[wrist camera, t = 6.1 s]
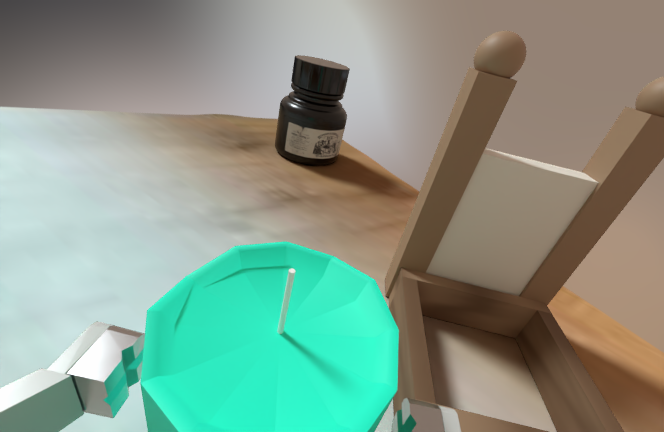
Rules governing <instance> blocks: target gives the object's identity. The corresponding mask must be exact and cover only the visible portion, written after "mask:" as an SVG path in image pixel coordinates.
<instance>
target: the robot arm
mask: <svg viewBox="0 0 664 432" xmlns="http://www.w3.org/2000/svg"><path fill="white" fill-rule="evenodd" d="M144 340H145V333H141V332H137V331H133V330H129V329H125V328H121V327H117V326H115V325H111V324H106V323H102V322H98V321H97V322H95V323H93V324H92V325H90V326H89V327H88V328H87V329H86V330H85V331H84V332H83V333H82V334H81V335H80V336H79V337H78V338H77V339H76V340H75V341H74V342H73V343H72V344H71V345H70V346H69V347H68V348H67V349H66V350H65V351H64V352H63V353H62V354H61V355H60V356H59V357H58V358H57V359H56V361H55V362H54V363H53V364H52V365H51V366H50V367H49V368H48V369H43V368H41V369H39V370H37V371H35V372H33V373H31V374H29V375H27V376H24V377H22V378H20V379H18V380H16V381H14V382H12V383H10V384H8V385H6V386H4V387H2V388H0V432H59V431H60V430H62V429H63V428H65V427H66V426H67V425H69V424H70V423H72V422H73V421H75V420H76V419H77V418H79V417H80V416H82V415H83V414H84V412H86V413H91V414H96V415H100V416H105V417H110V418H114V417H115V415H116V414H117V412H118V411H119V409H120V408H121V406H122V405H123V404H124V402H125V401H126V399H127V398H128V396H129V387H130V386H132V385H133V384H135V383H137V382H138V381H139V380H140V378H141V372H142V361H143V350H144ZM391 432H461V428H460V423H459V418H458V414H457V412H456V411H455V410H454V409H452V408H448V407H443V406H439V405H437V404H432V403H428V402H423V401H419V400H414V399H410V398H405V399H404V400H403V402H402V409H401V410H398V411H397V412H396V414H395V416H394V419H393V423H392V431H391Z"/></svg>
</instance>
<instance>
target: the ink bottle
mask: <svg viewBox="0 0 664 432" xmlns="http://www.w3.org/2000/svg"><path fill="white" fill-rule="evenodd" d="M348 74H349V68H348V67H346V66H344V65H341V64H338V63H335V62H332V61H327V60H323V59H319V58H314V57H308V56H299V55H298V56H295V60H294V67H293V74H292V84H291V87H292V89H293V90H294V92H291V93H290V94H289V95H288V96H286V97H284V98H283V99H282V101H281V103H280V109H279V117H278V125H277V133H276V140H275V147H276V150H277V151H278V152H279V153H280V154H281V155H283V156H284V157H286V158H288V159H290V160H292V161H295V162H298V163H302V164H309V165H326V164H331V163H333V162H335V161H336V160H337V158H338V154H339V150H340V145H341V141H342V136H343V132H344V129H345V124H346V119H347V114H346V112H345V110H344V109H343V108H342V104H341V103H340V102H339V100H341V99H342V98H343V93H344V92H345V87H346V83H347V78H348Z"/></svg>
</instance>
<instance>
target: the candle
mask: <svg viewBox="0 0 664 432" xmlns="http://www.w3.org/2000/svg"><path fill="white" fill-rule="evenodd" d="M398 343H399V329H398V327H397V325H396V323H395V321H394V319H393V317H392V314H391V312H390V310H389V308H388V306H387V304H386V302H385V300H384V298H383V296H382V293H381V291H380V289H379V287H378V285H377V283H376V281H375V280H374V279H372V278H371V277H369V276H367V275H365V274H364V273H362V272H360V271H358V270H357V269H355V268H353V267H351V266H350V265H348V264H346V263H345V262H343V261H341V260H339V259H338V258H336V257H334V256H331V255H328V254H325V253H322V252H319V251H315V250H312V249H309V248H306V247H303V246H299V245H296V244H293V243H290V242H275V243H264V244H252V245H241V246H235V247H233V248H231V249H230V250H228V251H226V252H225V253H223V254H222V255H220V256H218V257H217V258H215V259H214V260H212V261H210V262H209V263H207V264H205V265H204V266H202V267H201V268H199V269H197V270H196V271H194V272H192V273H191V274H189V275H188V276H186V277H185V278H184V279H183V280H181V281H180V282H179V283H178V284H177V285H176V286H175V287H173V288H172V289H171V290H170V291H169V292H168V293H167V294H165V295H164V296H163V297H162V298H161V299H160V300H158V301H157V302H156V303H155V304H154V305H153V306H152V307H150V308H149V309H148V310H147V318H146V329H145V340H144V350H143V361H142V372H141V390H142V396H143V402H144V409H145V415H146V421H147V428H148V432H374V431H375V429H376V428H377V426H378V424H379V422H380V420H381V419H382V417H383V415H384V413H385V411H386V410H387V408H388V406H389V404H390V402H391V401H392V399H393V397H394V395H395V393H396V392H397V386H398Z"/></svg>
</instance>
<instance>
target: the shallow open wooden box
mask: <svg viewBox="0 0 664 432" xmlns="http://www.w3.org/2000/svg"><path fill="white" fill-rule="evenodd" d="M389 310H390V312H391V314H392V317H393V319H394V321H395V323H396V325H397V327H398V329H399V343H398V386H397V392H396V393H395V395H394V397H393V407H394V416H395V414H396V412H397V411H398V410H401V409H402V402H403V400H404V399H405V398H410V399H414V400H419V401H423V402H428V403H432V404H436V400H435V394H434V387H433V381H432V375H431V368H430V362H429V356H428V349H427V343H426V337H425V330H424V324H423V317H422V315H424V316H428V317H432V318H436V319H440V320H444V321H448V322H452V323H456V324H460V325H464V326H468V327H472V328H476V329H480V330H484V331H488V332H492V333H496V334H500V335H504V336H508V337H512V338H516V341H517V343H518V345H519V347H520V349H521V352H522V354H523V356H524V358H525V361H526V363H527V365H528V367H529V370H530V372H531V374H532V376H533V378H534V381H535V383H536V385H537V387H538V390H539V392H540V394H541V396H542V399H543V401H544V403H545V405H546V408H547V410H548V412H549V414H550V416H551V419H552V421H553V423H554V425H555V428H556V430H557V432H624V431H623V429H622V427H621V426H620V424H619V423H618V421H617V419H616V418H615V416H614V414H613V413H612V411H611V410H610V408H609V406H608V405H607V403H606V401H605V400H604V398H603V397H602V395H601V393H600V392H599V390H598V388H597V387H596V385H595V383H594V382H593V380H592V379H591V377H590V375H589V374H588V372H587V370H586V369H585V367H584V366H583V364H582V362H581V361H580V359H579V357H578V356H577V354H576V353H575V351H574V349H573V348H572V346H571V344H570V343H569V341H568V340H567V338H566V336H565V335H564V333H563V331H562V330H561V328H560V326H559V325H558V323H557V322H556V320H555V318H554V317H553V315H552V313H551V312H550V310H549V309H548V307H547V305H546V304H545V303H543V302H539V301H535V300H531V299H527V298H523V297H519V296H515V295H511V294H507V293H503V292H499V291H495V290H491V289H487V288H483V287H479V286H475V285H471V284H467V283H463V282H459V281H455V280H451V279H447V278H443V277H439V276H435V275H431V274H427V273H423V272H419V271H415V270H411V269H407V268H403V267H401V269H400V272H399V274H398V277H397V279H396V281H395V284H394V286H393V288H392V291H391V293H390V295H389ZM437 405H439V404H437ZM439 406H443V405H439ZM443 407H447V406H443ZM448 408H451V407H448ZM452 409H454V410H455V411H456V412H457V414H458V418H459V423H460V428H461V432H548V431H544V430H540V429H536V428H532V427H528V426H524V425H520V424H516V423H512V422H507V421H503V420H499V419H495V418H491V417H487V416H483V415H479V414H475V413H471V412H467V411H463V410H459V409H455V408H452Z"/></svg>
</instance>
